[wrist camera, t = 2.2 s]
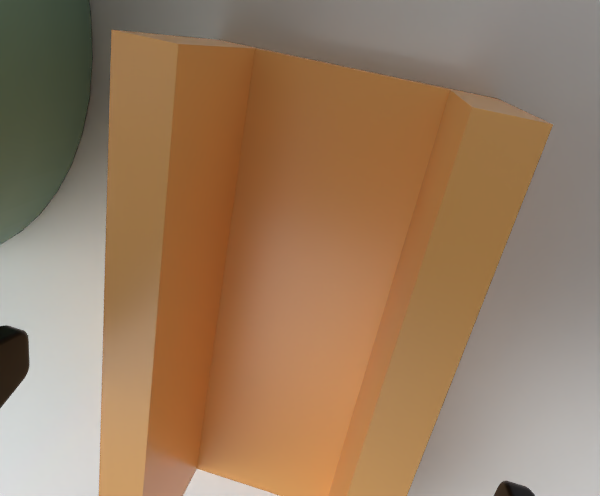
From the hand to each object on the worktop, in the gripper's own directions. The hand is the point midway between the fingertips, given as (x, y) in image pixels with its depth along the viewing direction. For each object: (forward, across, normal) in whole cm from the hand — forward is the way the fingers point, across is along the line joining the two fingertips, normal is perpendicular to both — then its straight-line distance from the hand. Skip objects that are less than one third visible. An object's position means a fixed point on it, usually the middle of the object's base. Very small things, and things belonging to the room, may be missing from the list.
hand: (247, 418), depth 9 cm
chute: (+4, 0, 0) cm, 4 cm away
